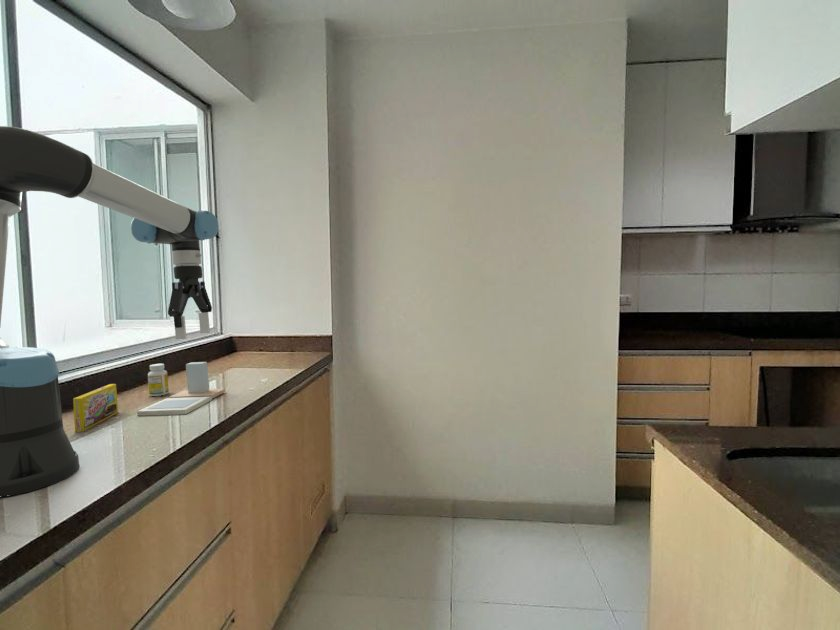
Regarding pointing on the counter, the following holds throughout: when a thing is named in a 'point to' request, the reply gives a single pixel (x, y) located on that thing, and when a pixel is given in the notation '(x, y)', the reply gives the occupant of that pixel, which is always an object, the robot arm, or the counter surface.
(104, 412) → the candy box
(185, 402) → the board
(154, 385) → the supplement bottle
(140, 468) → the counter surface
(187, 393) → the stub
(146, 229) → the robot arm
